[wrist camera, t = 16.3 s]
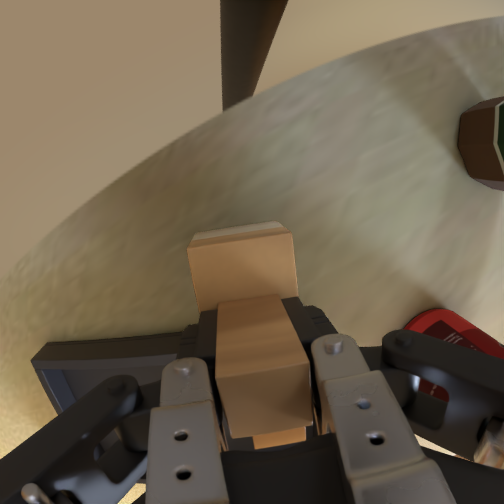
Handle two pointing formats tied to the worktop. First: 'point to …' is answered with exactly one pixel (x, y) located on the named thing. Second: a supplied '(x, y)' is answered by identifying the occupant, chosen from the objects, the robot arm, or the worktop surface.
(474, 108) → the beer bottle
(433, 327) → the canned food
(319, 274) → the worktop surface
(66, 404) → the tray
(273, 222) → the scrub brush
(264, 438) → the orange brown wooden block
